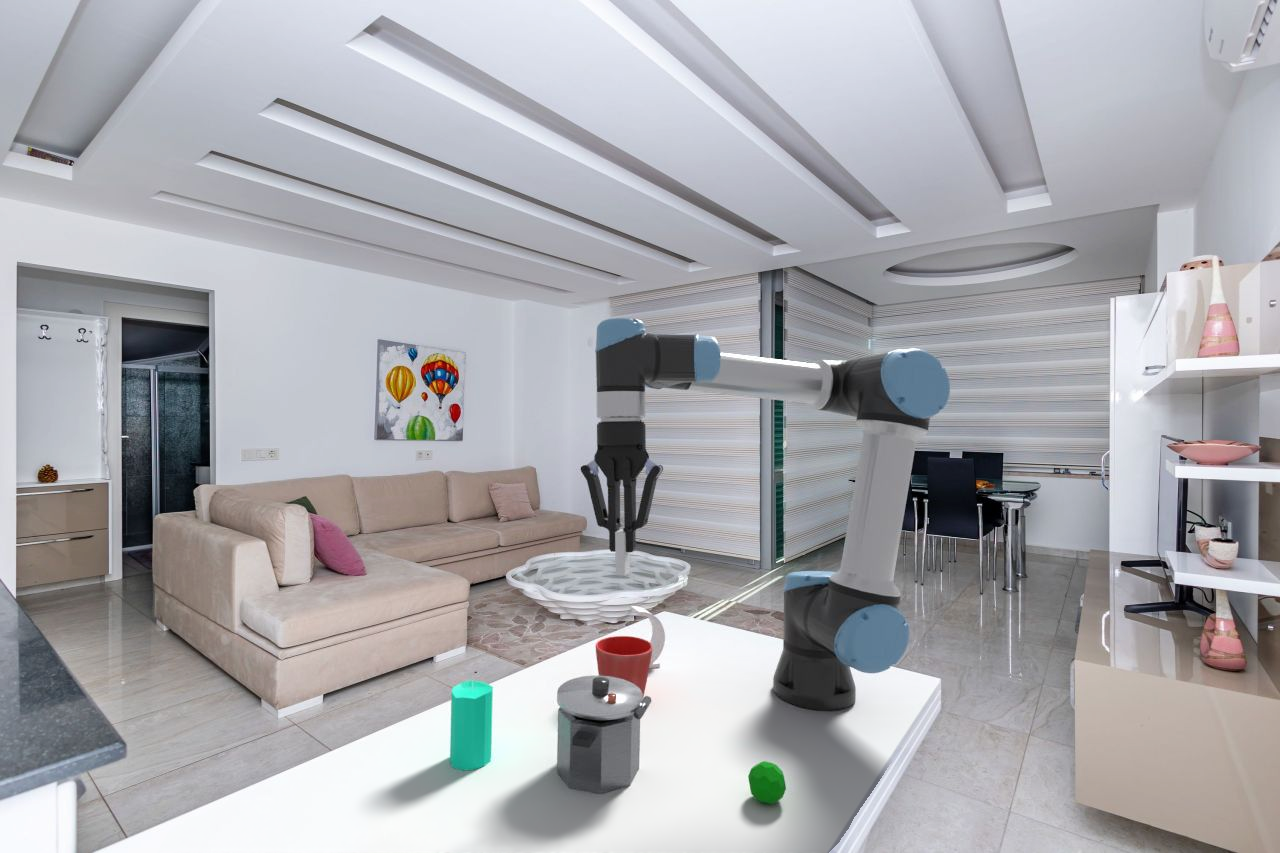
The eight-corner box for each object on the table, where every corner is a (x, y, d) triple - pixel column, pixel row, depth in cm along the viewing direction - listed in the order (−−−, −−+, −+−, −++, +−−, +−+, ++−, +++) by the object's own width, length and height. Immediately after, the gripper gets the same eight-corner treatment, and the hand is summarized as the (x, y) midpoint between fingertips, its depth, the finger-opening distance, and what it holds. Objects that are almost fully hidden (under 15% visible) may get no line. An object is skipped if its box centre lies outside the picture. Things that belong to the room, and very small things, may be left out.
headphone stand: (629, 662, 133) (630, 606, 133) (655, 659, 135) (656, 603, 135) (638, 670, 129) (639, 612, 129) (664, 666, 131) (665, 609, 131)
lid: (657, 694, 95) (658, 673, 95) (634, 732, 83) (636, 707, 83) (575, 679, 98) (576, 658, 98) (542, 713, 86) (543, 689, 86)
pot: (648, 751, 96) (649, 692, 96) (618, 806, 82) (620, 737, 82) (581, 740, 99) (582, 683, 99) (541, 791, 85) (542, 725, 85)
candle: (447, 753, 94) (449, 673, 94) (487, 746, 97) (489, 668, 97) (452, 773, 89) (454, 689, 89) (495, 765, 91) (496, 683, 91)
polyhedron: (793, 804, 83) (794, 768, 83) (766, 815, 81) (767, 778, 81) (766, 785, 87) (767, 751, 88) (740, 796, 85) (740, 761, 85)
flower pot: (653, 686, 121) (654, 636, 121) (649, 712, 110) (650, 656, 110) (599, 683, 122) (600, 633, 122) (589, 708, 111) (590, 653, 111)
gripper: (667, 419, 98) (669, 569, 98) (589, 420, 102) (591, 565, 102) (656, 419, 91) (658, 581, 91) (572, 420, 95) (574, 576, 95)
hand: (622, 572), depth 96 cm, fingers closed
